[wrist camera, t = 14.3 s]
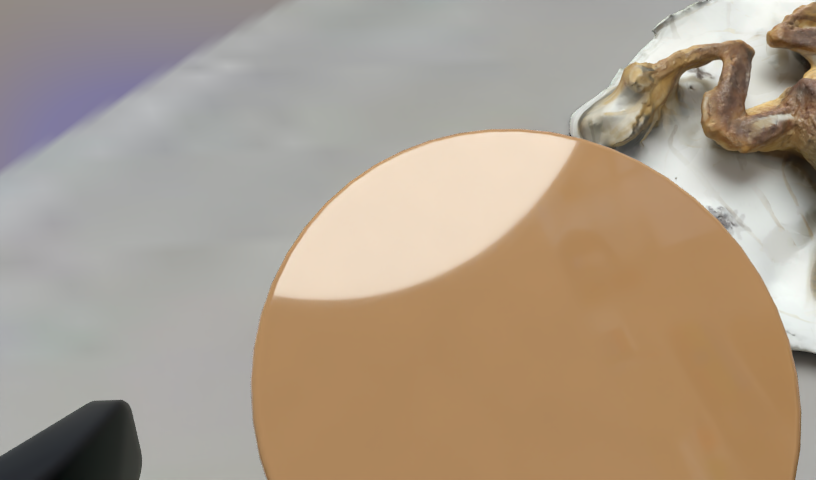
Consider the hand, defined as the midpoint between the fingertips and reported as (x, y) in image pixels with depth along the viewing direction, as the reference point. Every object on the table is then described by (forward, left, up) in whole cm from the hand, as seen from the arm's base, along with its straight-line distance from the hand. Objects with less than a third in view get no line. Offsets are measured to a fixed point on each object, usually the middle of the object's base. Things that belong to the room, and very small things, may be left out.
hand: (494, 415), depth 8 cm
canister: (0, 0, -8) cm, 8 cm away
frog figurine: (+3, -12, -8) cm, 15 cm away
